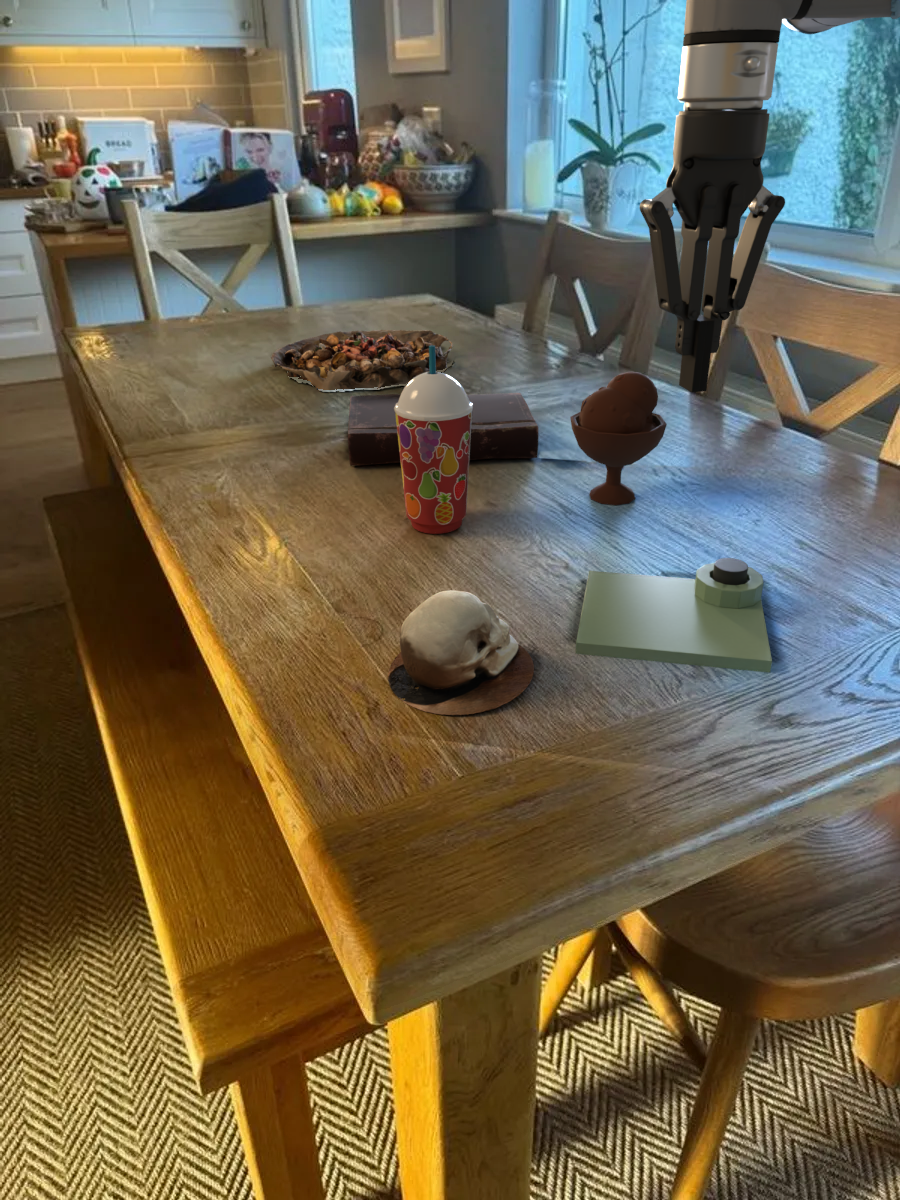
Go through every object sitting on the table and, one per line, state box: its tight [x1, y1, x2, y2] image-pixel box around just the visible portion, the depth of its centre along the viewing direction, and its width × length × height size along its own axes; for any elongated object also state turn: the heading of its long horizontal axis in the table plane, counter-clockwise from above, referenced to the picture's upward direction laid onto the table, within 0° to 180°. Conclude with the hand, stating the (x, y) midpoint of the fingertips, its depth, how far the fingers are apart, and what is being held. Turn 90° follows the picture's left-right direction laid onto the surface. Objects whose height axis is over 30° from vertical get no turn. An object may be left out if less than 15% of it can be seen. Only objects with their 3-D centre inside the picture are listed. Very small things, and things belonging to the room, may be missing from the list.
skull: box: [387, 589, 535, 716], centre depth 74 cm, size 12×10×10 cm
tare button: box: [713, 557, 749, 585], centre depth 83 cm, size 3×3×2 cm
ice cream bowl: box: [569, 371, 668, 506], centre depth 105 cm, size 11×11×15 cm
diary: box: [347, 392, 539, 467], centre depth 126 cm, size 19×25×5 cm
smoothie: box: [394, 345, 473, 535], centre depth 98 cm, size 8×8×20 cm
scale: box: [574, 562, 773, 674], centre depth 81 cm, size 16×14×3 cm
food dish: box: [270, 329, 454, 390], centre depth 165 cm, size 35×33×8 cm
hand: (692, 387), depth 86 cm, fingers closed
